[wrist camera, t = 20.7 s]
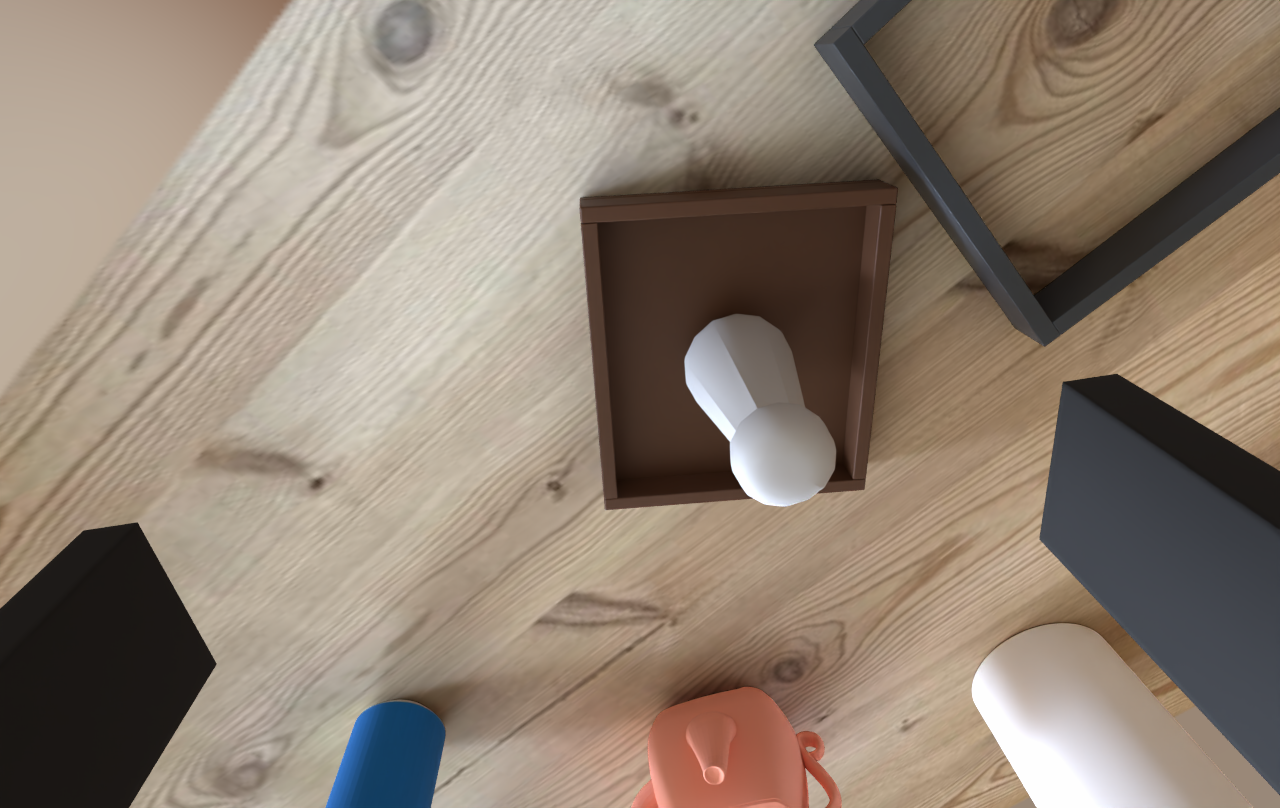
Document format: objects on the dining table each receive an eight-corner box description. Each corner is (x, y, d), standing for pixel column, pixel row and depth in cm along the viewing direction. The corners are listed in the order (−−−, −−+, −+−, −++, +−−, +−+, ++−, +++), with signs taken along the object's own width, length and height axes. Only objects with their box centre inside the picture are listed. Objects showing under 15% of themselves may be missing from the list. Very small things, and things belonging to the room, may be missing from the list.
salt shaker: (693, 408, 41) (735, 547, 30) (666, 320, 39) (700, 433, 27) (790, 378, 41) (871, 507, 29) (769, 287, 38) (848, 388, 27)
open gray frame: (813, 45, 34) (832, 43, 31) (1205, -331, 29) (1269, -371, 26) (1014, 328, 41) (1044, 347, 38) (1356, 70, 36) (1418, 71, 33)
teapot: (750, 806, 59) (782, 956, 49) (596, 761, 55) (597, 914, 45) (849, 692, 53) (908, 836, 44) (687, 634, 50) (711, 776, 40)
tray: (579, 197, 36) (579, 207, 34) (879, 179, 37) (898, 187, 34) (604, 486, 44) (605, 510, 42) (850, 467, 44) (864, 490, 42)
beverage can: (350, 693, 50) (286, 867, 39) (443, 690, 51) (404, 861, 40) (364, 754, 53) (307, 932, 42) (451, 751, 53) (417, 926, 43)
